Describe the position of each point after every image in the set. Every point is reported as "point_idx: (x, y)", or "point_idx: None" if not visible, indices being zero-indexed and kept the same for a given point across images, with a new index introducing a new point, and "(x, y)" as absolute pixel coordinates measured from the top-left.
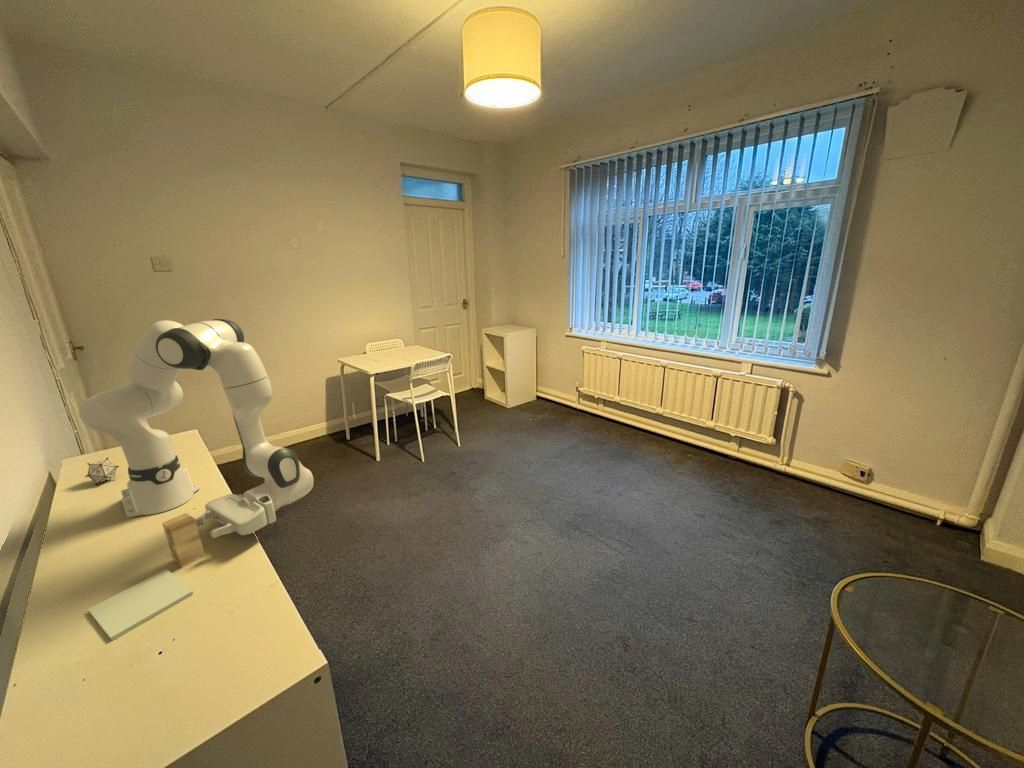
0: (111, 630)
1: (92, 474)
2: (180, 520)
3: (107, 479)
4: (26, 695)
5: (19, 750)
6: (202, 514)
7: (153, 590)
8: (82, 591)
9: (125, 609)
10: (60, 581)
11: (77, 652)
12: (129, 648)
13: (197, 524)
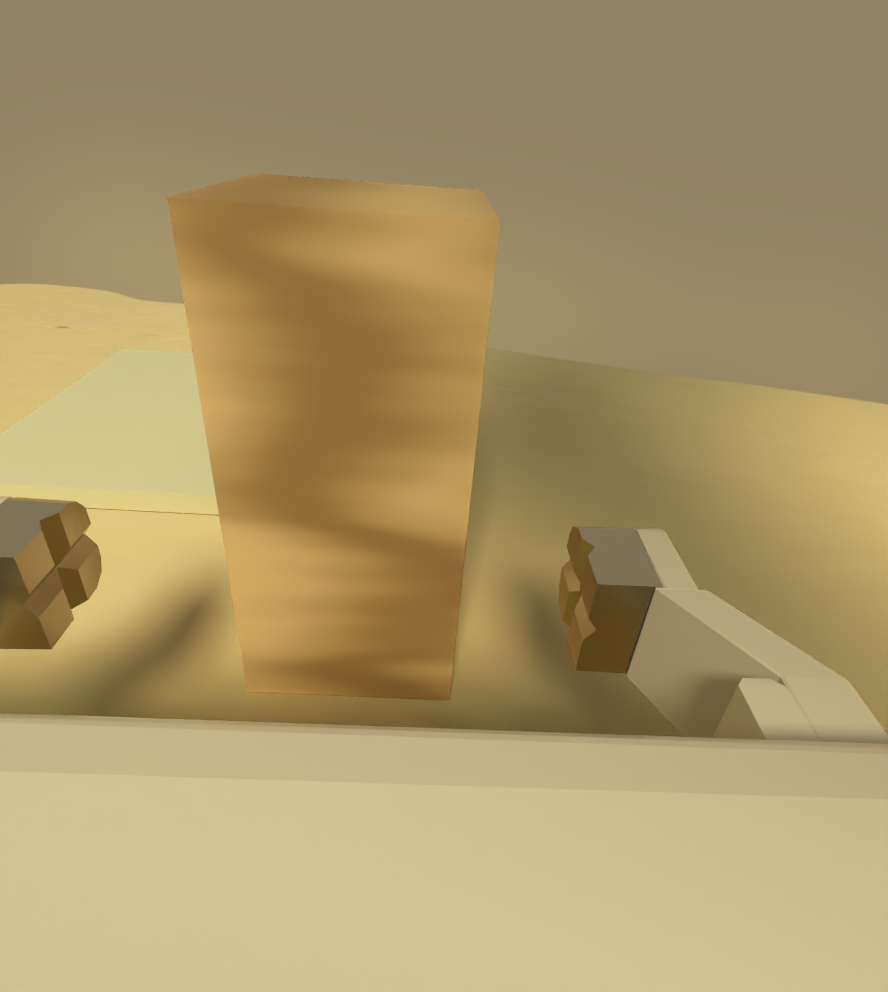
0: (156, 354)
1: None
2: (340, 193)
3: None
4: (179, 306)
5: (30, 286)
6: (749, 626)
7: None
8: (558, 398)
9: None
10: (712, 396)
11: None
12: (13, 365)
13: (568, 583)
